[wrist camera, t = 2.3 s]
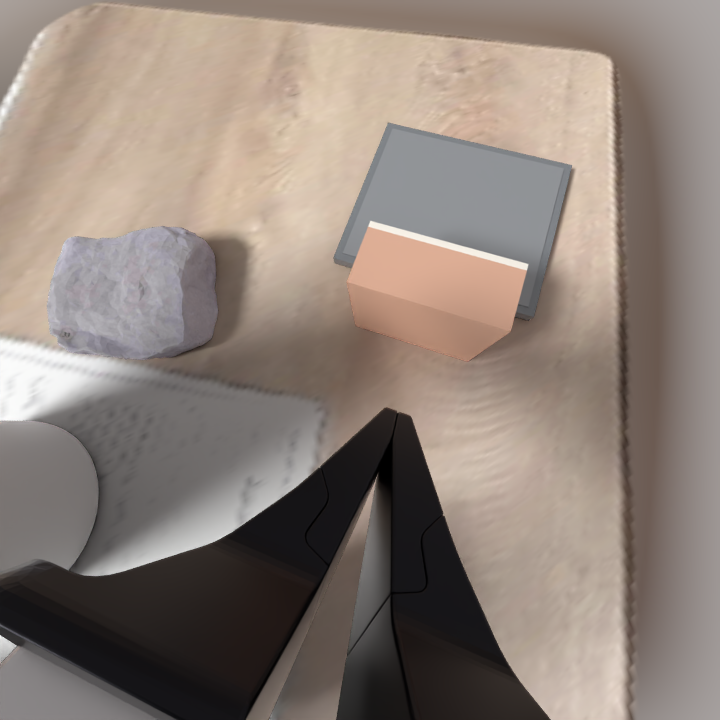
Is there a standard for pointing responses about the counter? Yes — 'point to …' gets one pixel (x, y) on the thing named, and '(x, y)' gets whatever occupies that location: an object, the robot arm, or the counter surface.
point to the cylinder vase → (44, 494)
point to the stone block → (134, 294)
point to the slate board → (462, 200)
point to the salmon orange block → (433, 291)
